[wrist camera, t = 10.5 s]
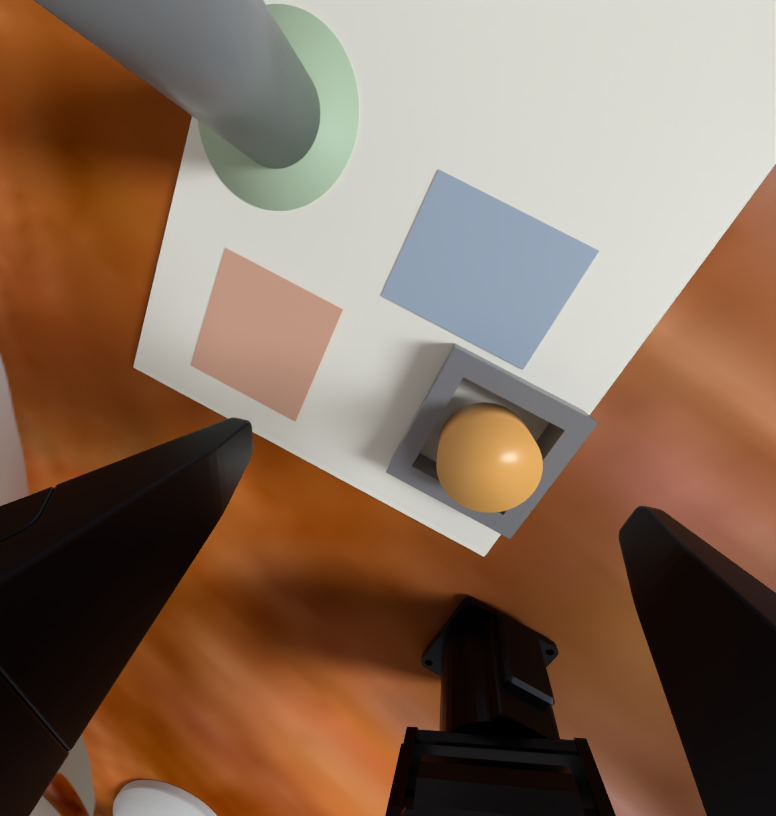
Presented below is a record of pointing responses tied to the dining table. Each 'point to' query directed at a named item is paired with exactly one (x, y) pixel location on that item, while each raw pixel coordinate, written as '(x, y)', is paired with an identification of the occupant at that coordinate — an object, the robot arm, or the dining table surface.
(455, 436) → the button
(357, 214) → the colouring board
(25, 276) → the dining table surface
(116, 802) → the candlestick
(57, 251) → the dining table surface
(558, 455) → the button housing
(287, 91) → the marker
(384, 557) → the dining table surface
